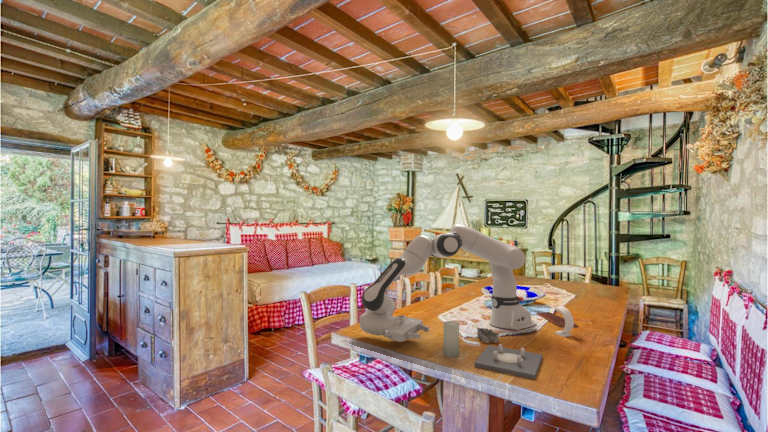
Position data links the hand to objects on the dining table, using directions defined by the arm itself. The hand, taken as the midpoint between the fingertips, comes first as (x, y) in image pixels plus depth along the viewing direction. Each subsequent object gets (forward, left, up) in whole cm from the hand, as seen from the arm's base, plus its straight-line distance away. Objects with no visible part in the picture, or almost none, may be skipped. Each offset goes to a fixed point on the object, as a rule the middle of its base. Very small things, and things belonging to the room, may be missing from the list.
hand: (424, 332), depth 146 cm
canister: (-7, +9, -7) cm, 13 cm away
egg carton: (-31, -1, -7) cm, 32 cm away
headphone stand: (-66, +7, -7) cm, 67 cm away
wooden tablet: (-81, -13, -7) cm, 83 cm away
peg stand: (-23, +23, -7) cm, 33 cm away
